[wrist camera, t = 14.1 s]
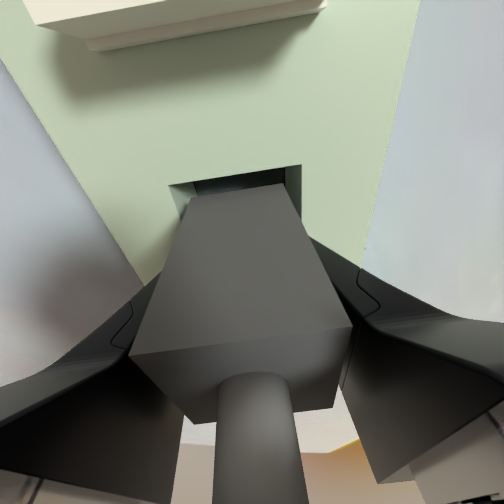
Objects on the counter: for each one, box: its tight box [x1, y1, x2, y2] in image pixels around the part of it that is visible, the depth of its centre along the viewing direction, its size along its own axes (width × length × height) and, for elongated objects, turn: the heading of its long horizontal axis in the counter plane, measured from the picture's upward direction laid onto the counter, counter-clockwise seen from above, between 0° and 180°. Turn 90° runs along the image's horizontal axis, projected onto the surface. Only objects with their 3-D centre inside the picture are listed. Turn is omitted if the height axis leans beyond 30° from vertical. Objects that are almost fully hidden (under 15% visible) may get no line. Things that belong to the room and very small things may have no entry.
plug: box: [128, 183, 353, 504], centre depth 7 cm, size 4×4×9 cm
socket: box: [0, 0, 421, 286], centre depth 12 cm, size 24×12×4 cm, turn 8°
